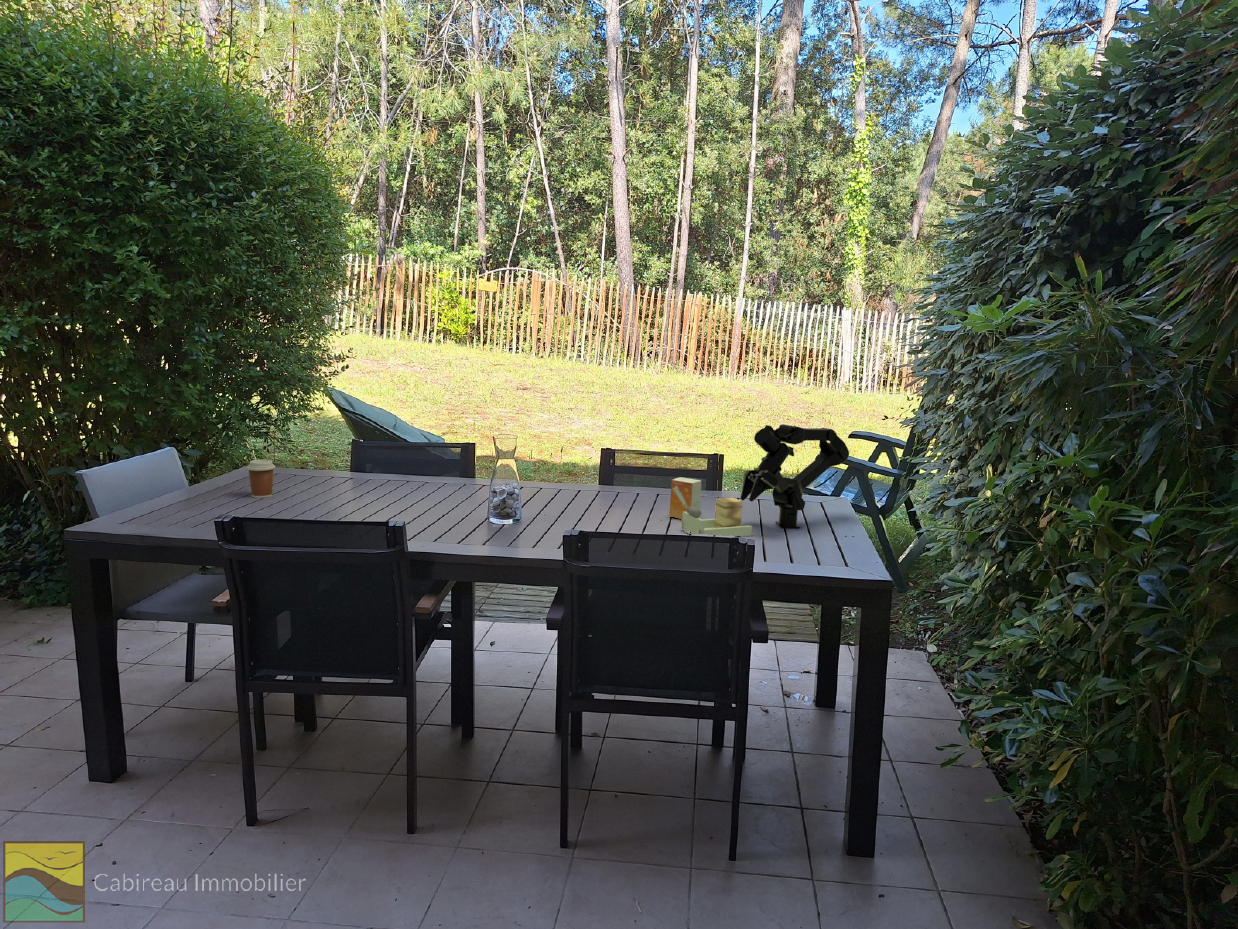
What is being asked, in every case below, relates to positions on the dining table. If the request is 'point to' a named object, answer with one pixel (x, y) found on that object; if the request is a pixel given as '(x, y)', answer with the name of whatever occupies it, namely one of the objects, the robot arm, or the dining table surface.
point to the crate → (728, 512)
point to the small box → (684, 495)
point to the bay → (710, 525)
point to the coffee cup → (261, 477)
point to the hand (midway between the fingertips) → (746, 500)
